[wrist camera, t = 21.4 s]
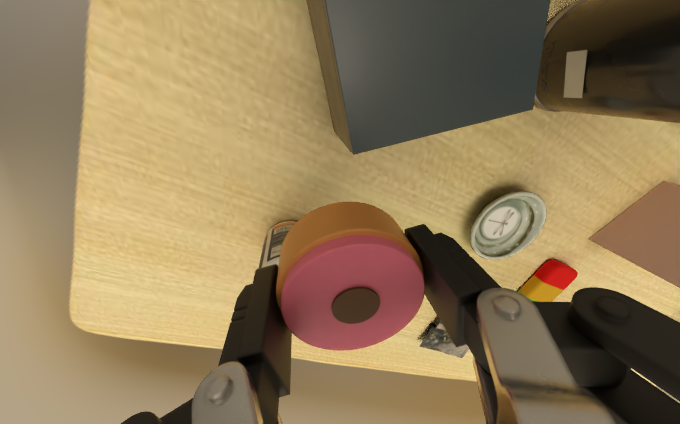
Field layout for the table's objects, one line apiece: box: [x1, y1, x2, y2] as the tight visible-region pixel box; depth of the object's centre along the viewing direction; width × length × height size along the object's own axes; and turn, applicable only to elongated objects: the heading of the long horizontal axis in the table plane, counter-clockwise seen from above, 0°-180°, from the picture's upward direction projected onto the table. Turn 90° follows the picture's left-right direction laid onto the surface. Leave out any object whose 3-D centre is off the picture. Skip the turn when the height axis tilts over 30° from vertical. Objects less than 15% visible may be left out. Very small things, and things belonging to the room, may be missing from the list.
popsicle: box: [518, 260, 577, 302], centre depth 40 cm, size 6×15×2 cm, turn 154°
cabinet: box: [307, 0, 550, 154], centre depth 17 cm, size 15×13×9 cm
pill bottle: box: [259, 221, 297, 268], centre depth 25 cm, size 6×6×10 cm
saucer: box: [470, 191, 547, 260], centre depth 31 cm, size 10×10×2 cm
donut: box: [276, 202, 425, 350], centre depth 9 cm, size 5×5×3 cm
